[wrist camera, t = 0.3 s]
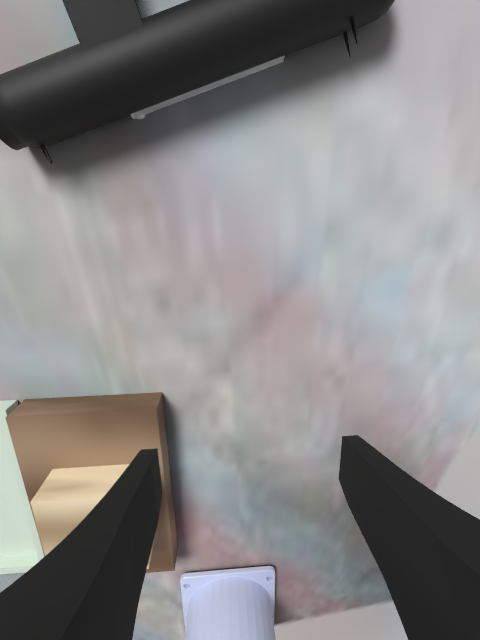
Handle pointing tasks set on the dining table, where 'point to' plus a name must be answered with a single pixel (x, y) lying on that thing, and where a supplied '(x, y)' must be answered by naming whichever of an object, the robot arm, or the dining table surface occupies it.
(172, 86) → the black toy gun
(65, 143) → the dining table surface
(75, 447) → the walnut board
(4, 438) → the green tray
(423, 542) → the robot arm
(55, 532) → the oak tile
